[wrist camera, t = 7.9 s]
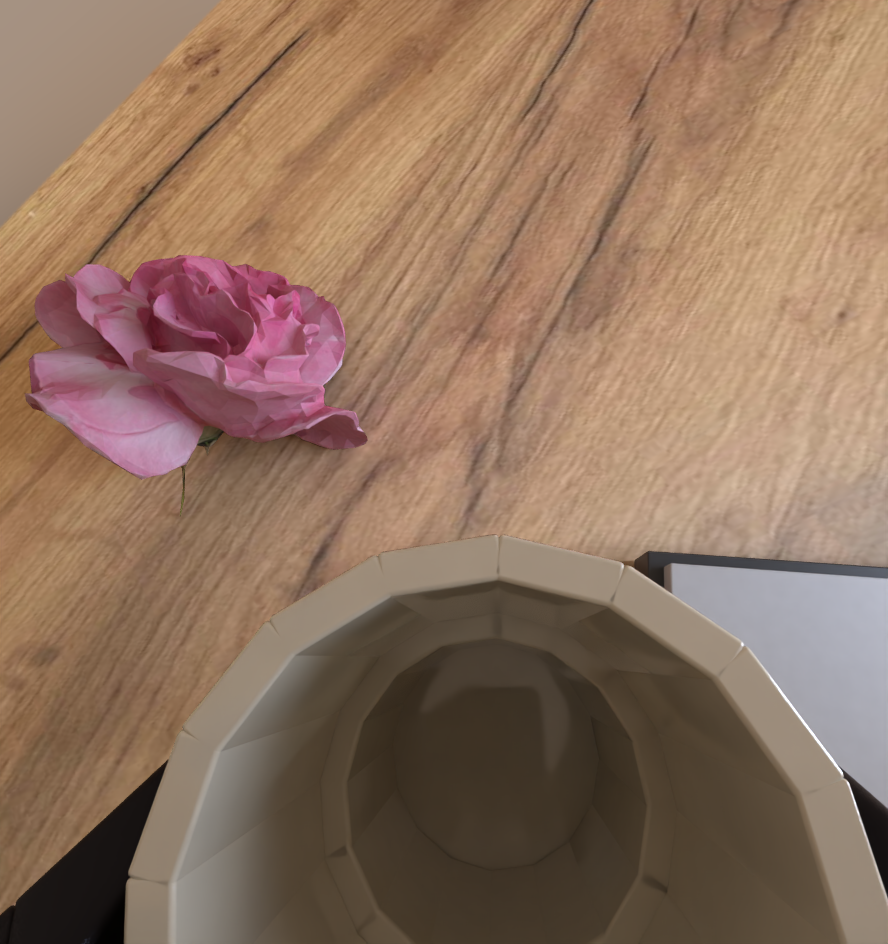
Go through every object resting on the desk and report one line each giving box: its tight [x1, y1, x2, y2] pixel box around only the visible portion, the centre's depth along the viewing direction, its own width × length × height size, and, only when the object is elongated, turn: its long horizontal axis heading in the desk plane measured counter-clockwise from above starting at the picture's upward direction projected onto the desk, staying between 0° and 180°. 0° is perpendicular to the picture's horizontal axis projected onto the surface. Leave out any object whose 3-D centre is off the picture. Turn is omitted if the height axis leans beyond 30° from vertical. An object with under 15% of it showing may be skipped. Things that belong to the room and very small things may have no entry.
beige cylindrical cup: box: [124, 534, 888, 944], centre depth 10 cm, size 7×7×10 cm
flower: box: [25, 255, 368, 516], centre depth 21 cm, size 11×10×10 cm
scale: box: [635, 551, 888, 808], centre depth 17 cm, size 12×12×3 cm
